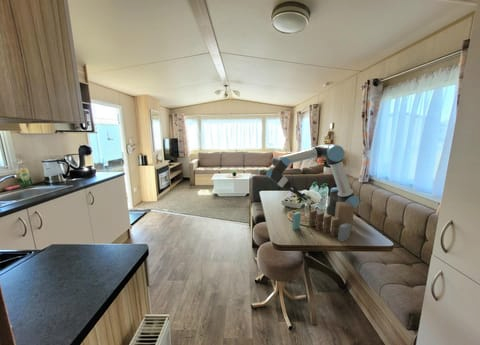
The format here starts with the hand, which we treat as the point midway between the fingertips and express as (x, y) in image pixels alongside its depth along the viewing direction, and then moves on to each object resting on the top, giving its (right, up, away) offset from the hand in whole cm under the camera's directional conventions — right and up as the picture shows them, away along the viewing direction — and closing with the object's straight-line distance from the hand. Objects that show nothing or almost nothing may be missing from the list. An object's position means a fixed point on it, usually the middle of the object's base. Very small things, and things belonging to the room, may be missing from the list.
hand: (309, 202), depth 149 cm
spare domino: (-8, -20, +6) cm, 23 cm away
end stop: (+20, -23, -8) cm, 32 cm away
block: (+26, -21, +5) cm, 34 cm away
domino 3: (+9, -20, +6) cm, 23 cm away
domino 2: (+6, -19, +11) cm, 23 cm away
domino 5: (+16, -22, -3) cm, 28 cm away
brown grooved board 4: (+13, -21, +2) cm, 25 cm away
